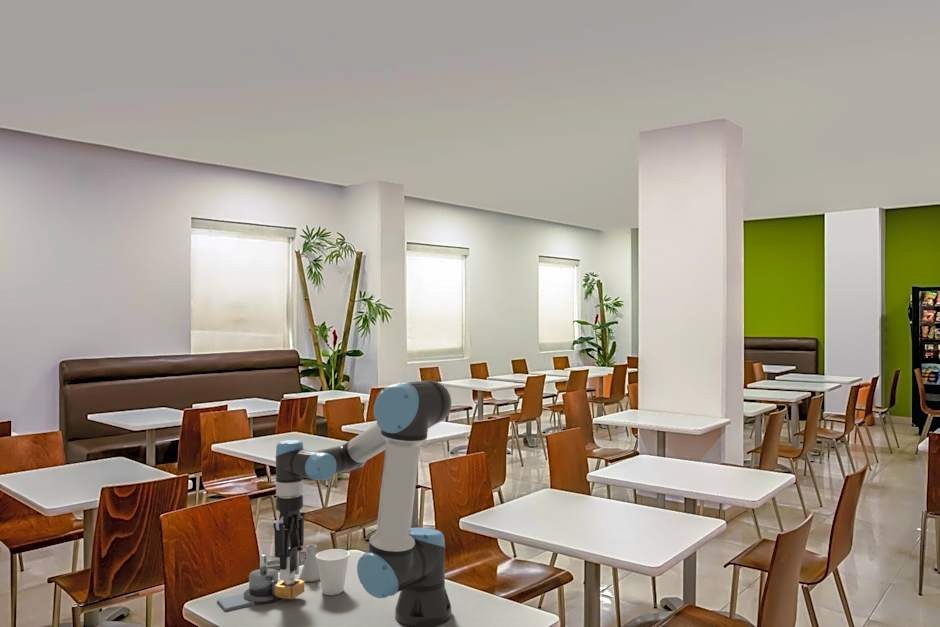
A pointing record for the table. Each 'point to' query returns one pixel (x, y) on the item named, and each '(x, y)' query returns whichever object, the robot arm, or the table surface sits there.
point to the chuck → (271, 582)
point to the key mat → (234, 602)
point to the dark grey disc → (260, 598)
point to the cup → (332, 570)
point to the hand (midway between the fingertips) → (289, 576)
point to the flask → (310, 566)
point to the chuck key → (292, 565)
